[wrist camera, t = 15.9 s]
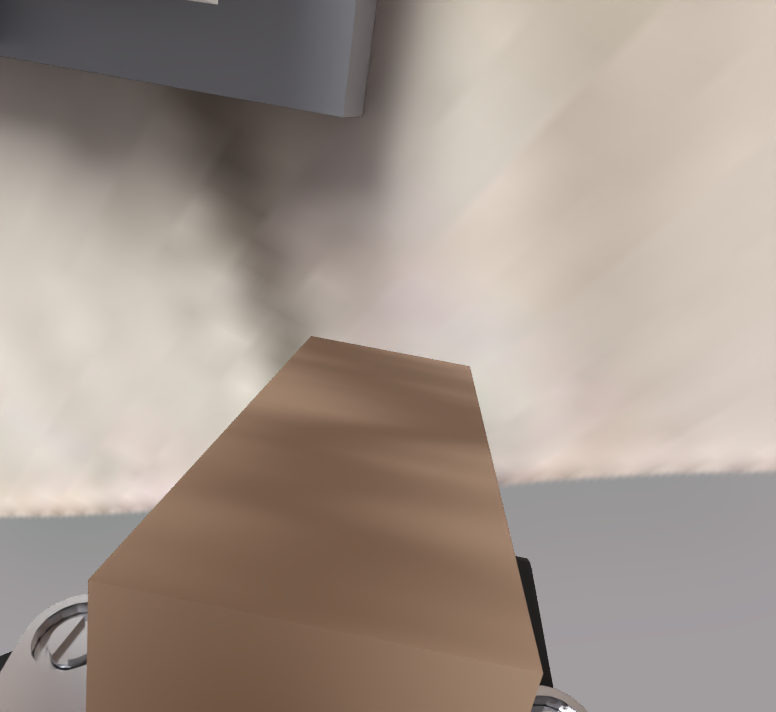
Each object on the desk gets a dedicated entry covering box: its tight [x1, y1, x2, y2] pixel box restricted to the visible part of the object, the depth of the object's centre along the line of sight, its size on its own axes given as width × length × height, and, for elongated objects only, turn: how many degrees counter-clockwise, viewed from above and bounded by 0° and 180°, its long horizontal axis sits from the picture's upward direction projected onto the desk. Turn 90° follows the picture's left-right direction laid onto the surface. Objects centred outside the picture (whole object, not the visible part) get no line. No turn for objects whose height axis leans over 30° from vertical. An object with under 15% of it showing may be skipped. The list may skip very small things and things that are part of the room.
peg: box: [86, 336, 543, 712], centre depth 9 cm, size 4×4×9 cm
